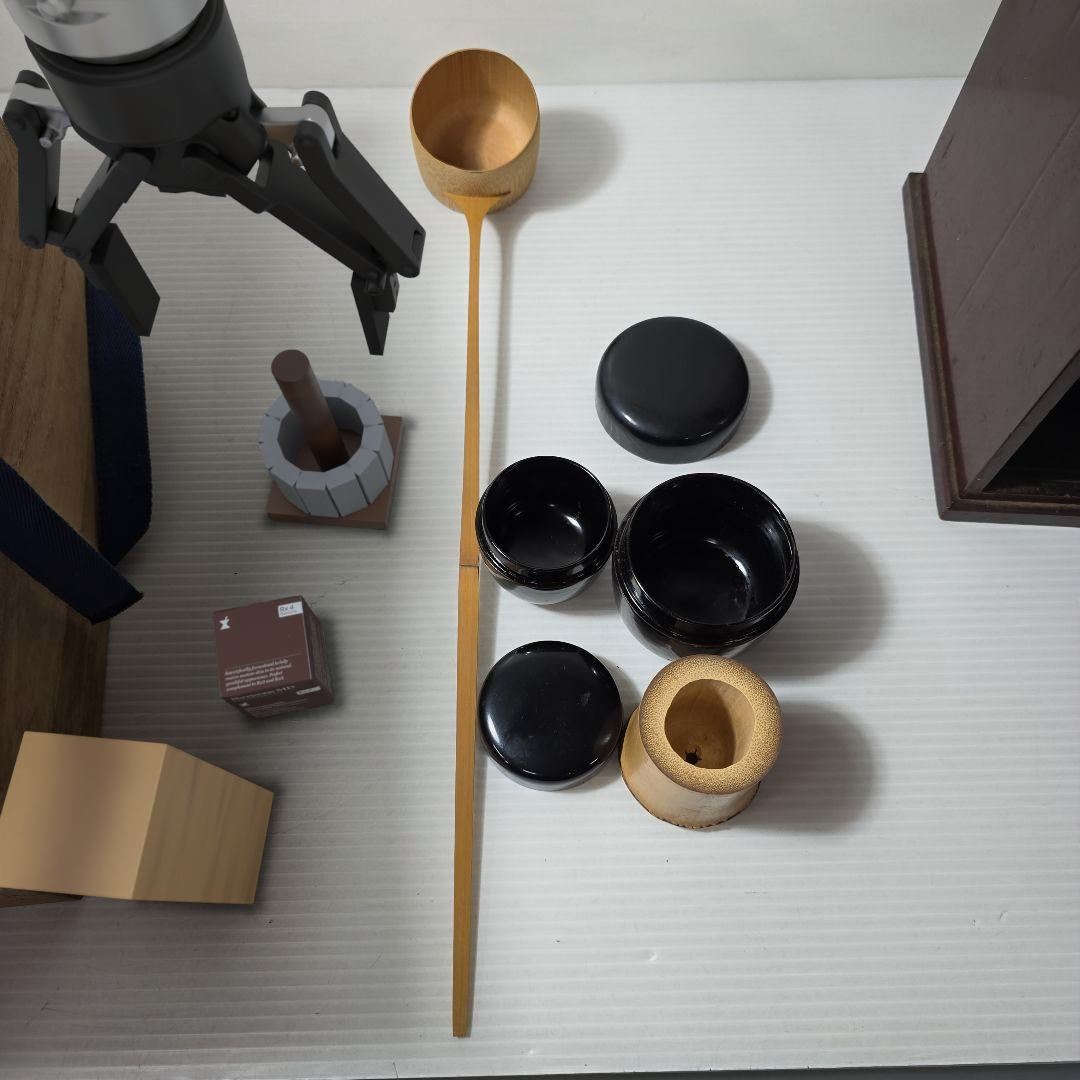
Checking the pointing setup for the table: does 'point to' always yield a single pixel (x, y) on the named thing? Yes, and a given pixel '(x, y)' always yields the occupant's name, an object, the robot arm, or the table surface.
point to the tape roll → (339, 485)
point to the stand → (130, 822)
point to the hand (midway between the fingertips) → (264, 326)
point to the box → (272, 657)
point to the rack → (326, 445)
